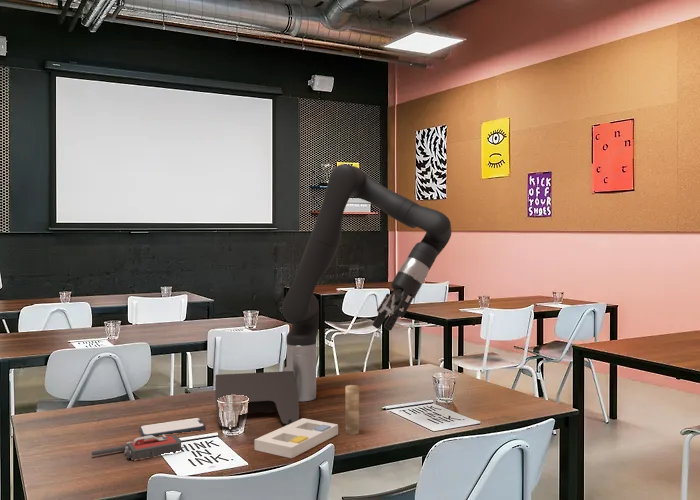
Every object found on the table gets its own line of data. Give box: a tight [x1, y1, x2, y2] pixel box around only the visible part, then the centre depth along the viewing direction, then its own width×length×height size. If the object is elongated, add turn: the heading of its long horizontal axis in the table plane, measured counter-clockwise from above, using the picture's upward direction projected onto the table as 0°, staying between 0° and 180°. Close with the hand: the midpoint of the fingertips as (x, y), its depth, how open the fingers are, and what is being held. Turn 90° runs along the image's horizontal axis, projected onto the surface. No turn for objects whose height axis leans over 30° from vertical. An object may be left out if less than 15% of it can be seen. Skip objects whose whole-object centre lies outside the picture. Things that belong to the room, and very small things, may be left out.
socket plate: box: [254, 417, 339, 459], centre depth 154 cm, size 20×11×3 cm, turn 149°
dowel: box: [344, 384, 360, 436], centre depth 161 cm, size 4×4×12 cm
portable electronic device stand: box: [214, 370, 300, 428], centre depth 175 cm, size 23×23×9 cm
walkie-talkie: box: [91, 434, 182, 460], centre depth 146 cm, size 9×4×20 cm
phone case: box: [139, 417, 206, 437], centre depth 164 cm, size 9×2×16 cm
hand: (381, 328), depth 168 cm, fingers open, 8 cm apart
